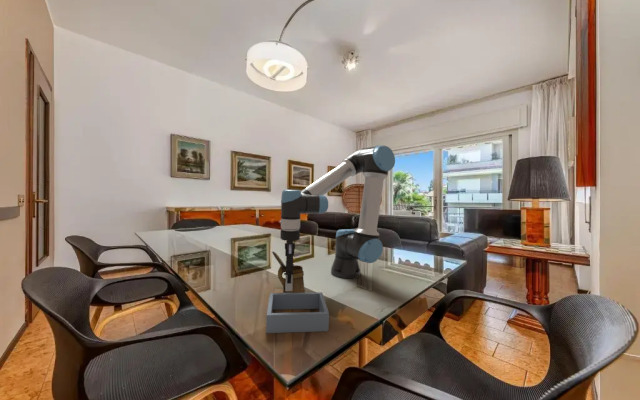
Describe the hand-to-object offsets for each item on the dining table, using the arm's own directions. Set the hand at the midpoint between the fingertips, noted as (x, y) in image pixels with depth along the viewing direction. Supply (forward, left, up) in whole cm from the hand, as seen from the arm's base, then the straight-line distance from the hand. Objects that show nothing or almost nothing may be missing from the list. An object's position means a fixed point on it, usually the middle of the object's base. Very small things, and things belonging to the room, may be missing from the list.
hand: (288, 286), depth 99 cm
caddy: (-3, +16, -4) cm, 17 cm away
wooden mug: (0, 0, -4) cm, 4 cm away
